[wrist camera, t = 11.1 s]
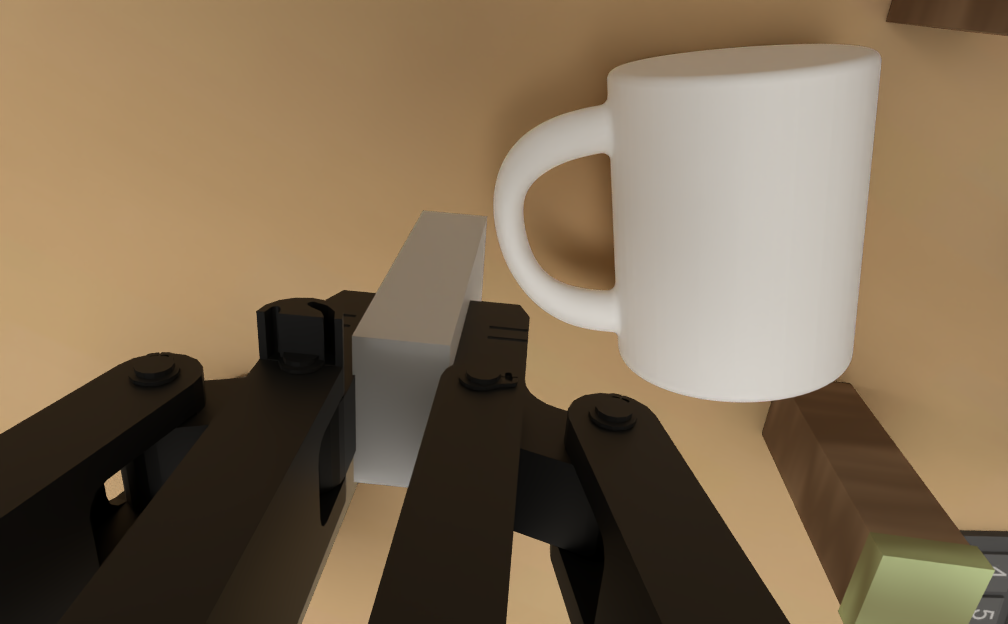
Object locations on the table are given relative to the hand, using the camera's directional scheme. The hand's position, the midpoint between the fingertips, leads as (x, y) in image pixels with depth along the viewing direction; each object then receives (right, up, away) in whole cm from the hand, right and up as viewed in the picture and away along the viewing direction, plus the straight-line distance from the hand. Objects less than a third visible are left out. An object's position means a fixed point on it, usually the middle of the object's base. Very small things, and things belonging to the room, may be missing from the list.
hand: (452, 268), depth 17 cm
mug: (+7, +4, +11) cm, 14 cm away
